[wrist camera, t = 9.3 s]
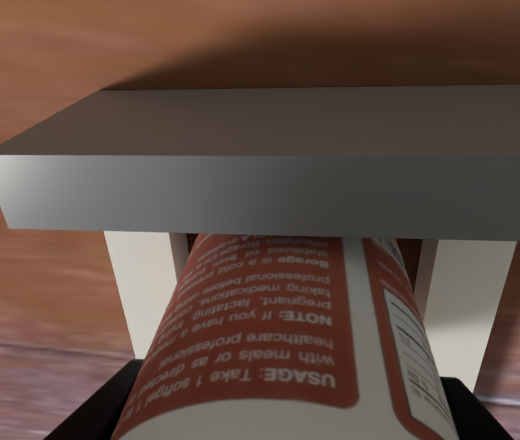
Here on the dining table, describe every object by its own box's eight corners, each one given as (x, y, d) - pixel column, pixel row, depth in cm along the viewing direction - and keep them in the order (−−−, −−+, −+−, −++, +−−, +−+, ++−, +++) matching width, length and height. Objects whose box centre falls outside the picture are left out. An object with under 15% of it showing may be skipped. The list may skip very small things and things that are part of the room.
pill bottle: (175, 296, 15) (-84, 892, 5) (236, 135, 12) (-113, 856, 2) (342, 359, 15) (383, 1000, 6) (441, 220, 12) (880, 1094, 3)
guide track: (420, 511, 21) (446, 651, 17) (185, 488, 22) (153, 612, 18) (530, 84, 11) (665, 158, 7) (97, 90, 12) (-20, 155, 8)
